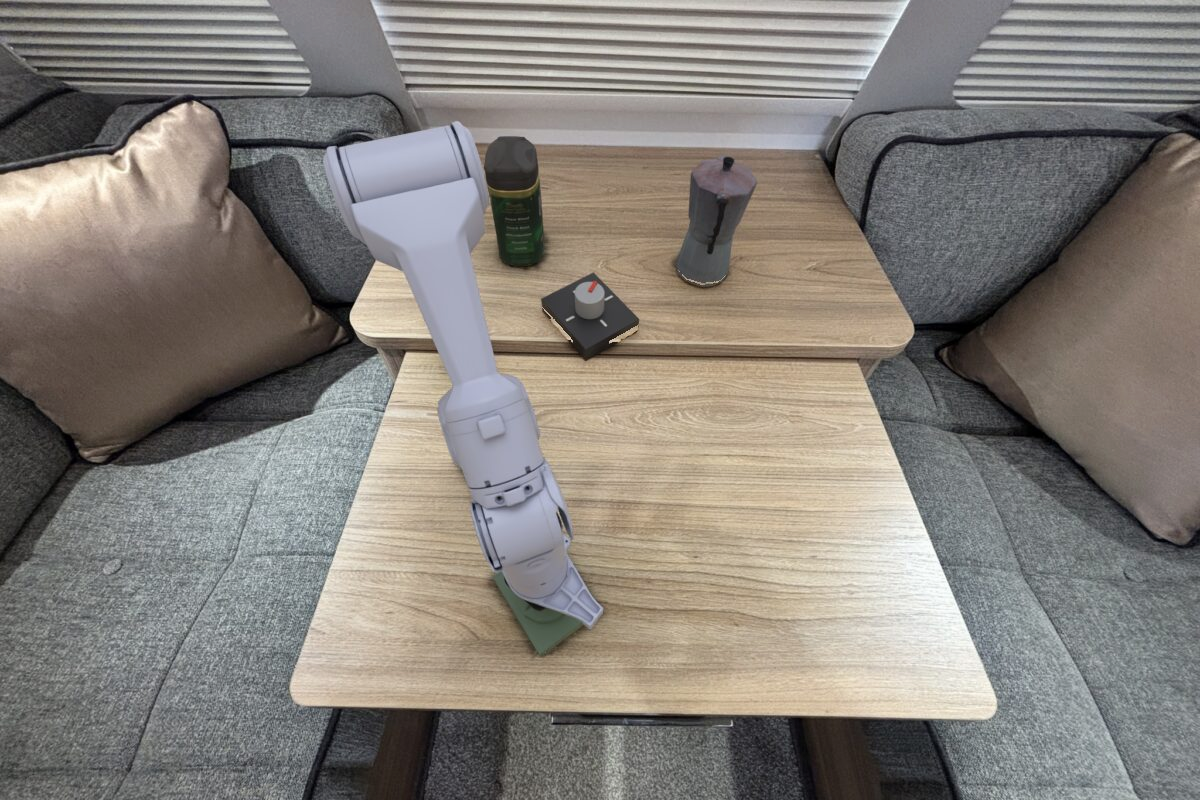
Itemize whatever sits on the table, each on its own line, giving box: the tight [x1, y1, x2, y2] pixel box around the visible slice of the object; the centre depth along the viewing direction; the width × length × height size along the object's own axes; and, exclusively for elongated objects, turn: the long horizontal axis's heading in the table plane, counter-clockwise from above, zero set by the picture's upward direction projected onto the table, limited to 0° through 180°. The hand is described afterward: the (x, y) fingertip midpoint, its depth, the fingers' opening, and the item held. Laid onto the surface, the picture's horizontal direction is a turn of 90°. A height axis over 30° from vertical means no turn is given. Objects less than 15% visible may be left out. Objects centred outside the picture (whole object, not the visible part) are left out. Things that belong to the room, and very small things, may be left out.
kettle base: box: [492, 571, 585, 658], centre depth 60 cm, size 10×8×4 cm
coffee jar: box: [483, 135, 546, 267], centre depth 84 cm, size 10×8×19 cm
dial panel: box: [540, 272, 640, 362], centre depth 82 cm, size 12×10×3 cm
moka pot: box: [675, 154, 758, 288], centre depth 81 cm, size 10×15×20 cm, turn 174°
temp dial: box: [575, 281, 605, 319], centre depth 79 cm, size 4×4×4 cm
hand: (544, 589), depth 58 cm, fingers closed, pressing on power button
